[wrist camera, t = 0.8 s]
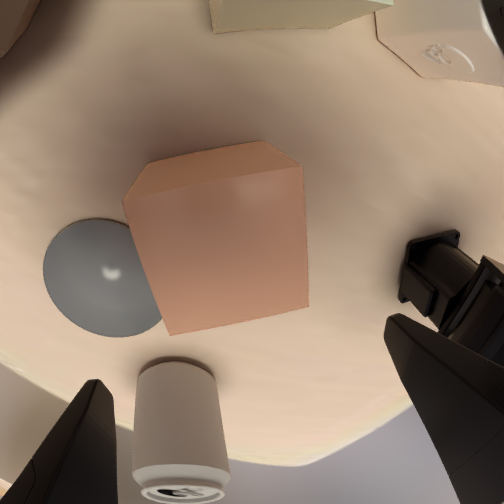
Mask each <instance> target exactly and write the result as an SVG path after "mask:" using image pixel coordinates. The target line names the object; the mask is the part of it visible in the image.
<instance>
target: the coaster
mask: <svg viewBox="0 0 504 504" xmlns="http://www.w3.org/2000/svg"><path fill="white" fill-rule="evenodd" d="M43 276H44V281H45V285H46V288H47V291H48V293H49V295H50V297H51V299H52V301H53V302H54V304H55V305H56V307H57V308H58V309H59V310H60V311H61V312H62V313H63V315H64V316H66V317H67V318H68V319H69V320H70V321H72V322H73V323H74V324H76V325H77V326H79V327H81V328H83V329H85V330H87V331H89V332H92V333H95V334H98V335H102V336H107V337H129V336H134V335H137V334H140V333H143V332H145V331H147V330H149V329H150V328H152V327H153V326H155V325H156V324H157V323H158V322H159V321H160V320H161V319H162V316H161V313H160V311H159V308H158V306H157V303H156V301H155V298H154V296H153V293H152V290H151V288H150V285H149V282H148V280H147V277H146V274H145V272H144V269H143V266H142V263H141V260H140V257H139V255H138V252H137V249H136V246H135V243H134V240H133V237H132V234H131V231H130V227H129V226H127V225H124V224H121V223H119V222H115V221H111V220H105V219H88V220H83V221H79V222H76V223H73V224H71V225H69V226H68V227H66V228H64V229H63V230H62V231H61V232H59V234H58V235H57V236H56V237H55V238H54V239H53V240H52V242H51V244H50V245H49V247H48V249H47V251H46V254H45V258H44V263H43Z"/></svg>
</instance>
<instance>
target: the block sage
mask: <svg viewBox="0 0 504 504" xmlns="http://www.w3.org/2000/svg"><path fill="white" fill-rule="evenodd" d="M209 6H210V13H211V20H212V27H213V34H216V33H224V32H233V31H243V30H256V29H274V28H321V29H329V28H332V27H334V26H337V25H339V24H342V23H344V22H347V21H350V20H352V19H355V18H358V17H361V16H363V15H366V14H369V13H372V12H375V11H378V10H381V9H385V8H388V7H391V6H394V3H393V0H209Z"/></svg>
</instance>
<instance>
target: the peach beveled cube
mask: <svg viewBox="0 0 504 504" xmlns="http://www.w3.org/2000/svg"><path fill="white" fill-rule="evenodd" d="M122 204H123V208H124V211H125V214H126V218H127V221H128V224H129V227H130V231H131V234H132V237H133V240H134V243H135V246H136V249H137V252H138V255H139V257H140V260H141V263H142V266H143V269H144V272H145V274H146V277H147V280H148V282H149V285H150V288H151V290H152V293H153V296H154V298H155V301H156V303H157V306H158V308H159V311H160V313H161V316H162V318H163V321H164V323H165V325H166V328H167V330H168V333H169V335H170V336H171V335H177V334H183V333H188V332H194V331H199V330H205V329H210V328H215V327H220V326H225V325H230V324H235V323H240V322H245V321H249V320H254V319H259V318H263V317H268V316H272V315H276V314H281V313H285V312H289V311H293V310H298V309H302V308H306V307H309V285H308V254H307V232H306V213H305V197H304V182H303V169H302V166H301V165H300V164H298V163H297V162H296V161H294V160H293V159H291V158H290V157H288V156H287V155H285V154H284V153H282V152H281V151H279V150H278V149H276V148H274V147H273V146H271V145H270V144H268V143H267V142H265V141H264V140H263V141H257V142H250V143H244V144H237V145H231V146H226V147H220V148H215V149H209V150H204V151H199V152H194V153H189V154H184V155H180V156H175V157H171V158H166V159H162V160H158V161H154V162H150V163H147V165H146V166H145V168H144V169H143V170H142V172H141V173H140V175H139V176H138V178H137V179H136V181H135V182H134V184H133V185H132V187H131V188H130V190H129V191H128V193H127V194H126V196H125V197H124V199H123V200H122Z"/></svg>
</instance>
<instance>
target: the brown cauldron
mask: <svg viewBox="0 0 504 504" xmlns="http://www.w3.org/2000/svg"><path fill="white" fill-rule="evenodd" d="M40 2H41V0H0V58H1V57H2V56H3V55H4V54H5V53H7V51H8V50H9V49H10V48H11V46H12V45H13V44H14V43H15V42H16V41H17V39H18V38H19V37H20V36H21V35H22V34H23V33H24V31H25V30H26V29H27V28H28V27H29V24H30V22H31V20H32V18H33V16H34V14H35V12H36V10H37V8H38V6H39V4H40Z"/></svg>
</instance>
